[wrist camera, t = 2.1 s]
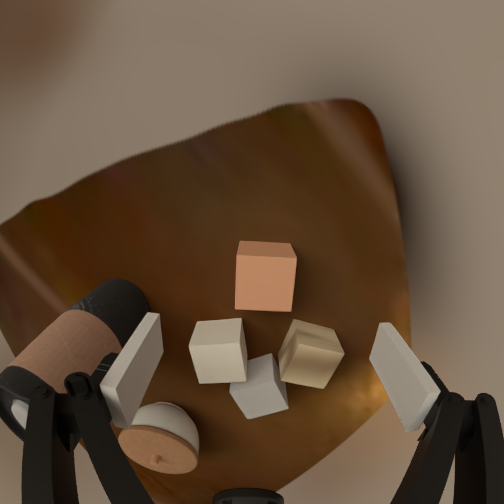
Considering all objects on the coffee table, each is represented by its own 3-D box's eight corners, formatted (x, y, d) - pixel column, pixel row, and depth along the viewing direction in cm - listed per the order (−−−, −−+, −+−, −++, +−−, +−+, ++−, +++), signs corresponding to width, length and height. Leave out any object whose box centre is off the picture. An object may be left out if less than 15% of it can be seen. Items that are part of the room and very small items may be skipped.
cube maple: (316, 362, 33) (323, 388, 28) (277, 353, 33) (280, 380, 28) (333, 329, 32) (344, 353, 27) (293, 318, 31) (299, 343, 27)
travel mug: (99, 329, 32) (13, 439, 13) (91, 272, 30) (-28, 368, 11) (154, 338, 32) (85, 474, 13) (149, 278, 30) (45, 406, 11)
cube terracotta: (285, 289, 30) (291, 311, 26) (238, 287, 30) (234, 309, 26) (290, 243, 29) (296, 258, 24) (239, 240, 29) (236, 255, 24)
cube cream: (247, 354, 33) (246, 381, 28) (205, 356, 33) (199, 383, 28) (241, 317, 31) (239, 342, 27) (197, 321, 32) (188, 345, 27)
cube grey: (285, 381, 34) (288, 408, 29) (248, 391, 34) (247, 419, 30) (271, 352, 33) (273, 380, 28) (232, 364, 33) (229, 392, 28)
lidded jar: (149, 378, 34) (127, 428, 25) (218, 413, 36) (211, 466, 27) (125, 414, 37) (106, 457, 28) (185, 444, 38) (175, 489, 29)
